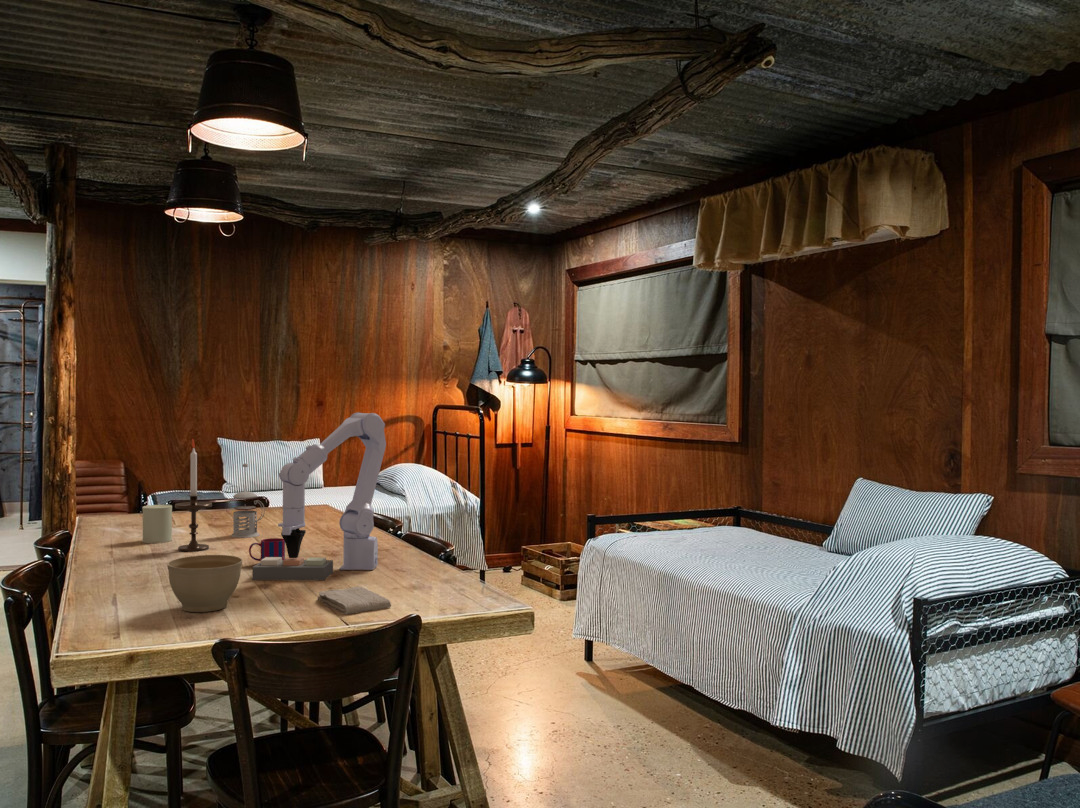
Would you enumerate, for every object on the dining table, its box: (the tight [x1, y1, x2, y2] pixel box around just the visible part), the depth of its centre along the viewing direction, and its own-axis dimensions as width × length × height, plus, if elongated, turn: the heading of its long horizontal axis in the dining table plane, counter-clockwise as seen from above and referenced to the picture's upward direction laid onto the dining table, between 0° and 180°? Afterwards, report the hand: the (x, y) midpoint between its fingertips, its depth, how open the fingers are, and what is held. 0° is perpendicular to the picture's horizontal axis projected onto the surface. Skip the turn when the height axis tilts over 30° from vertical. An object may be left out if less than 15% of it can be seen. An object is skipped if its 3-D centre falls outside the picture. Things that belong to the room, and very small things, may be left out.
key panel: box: [251, 559, 334, 581], centre depth 236 cm, size 19×10×3 cm, turn 90°
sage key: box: [305, 556, 327, 566], centre depth 236 cm, size 4×4×2 cm
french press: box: [230, 463, 266, 539], centre depth 301 cm, size 10×12×25 cm
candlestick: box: [174, 438, 213, 553], centre depth 274 cm, size 11×11×35 cm
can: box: [141, 503, 173, 544], centre depth 289 cm, size 9×9×12 cm
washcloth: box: [317, 586, 392, 615], centre depth 206 cm, size 12×18×3 cm, turn 37°
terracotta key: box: [283, 556, 305, 566], centre depth 236 cm, size 4×4×2 cm
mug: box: [248, 537, 286, 562], centre depth 253 cm, size 7×10×7 cm
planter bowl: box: [166, 554, 243, 613], centre depth 201 cm, size 16×16×11 cm
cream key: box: [260, 557, 282, 565], centre depth 236 cm, size 4×4×2 cm
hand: (293, 557), depth 236 cm, fingers closed
